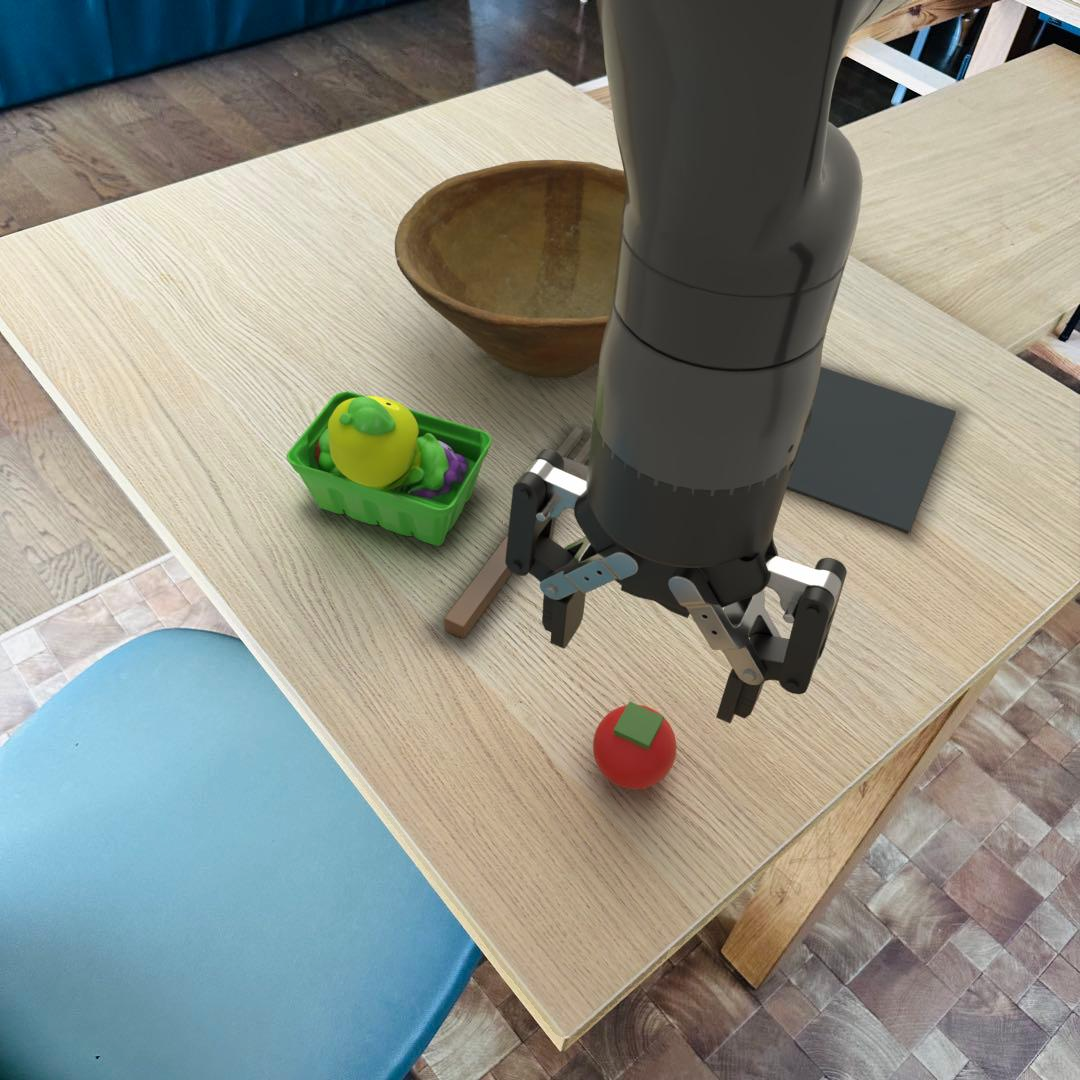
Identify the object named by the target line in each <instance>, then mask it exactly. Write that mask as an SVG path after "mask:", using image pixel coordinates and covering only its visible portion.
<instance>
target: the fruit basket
mask: <svg viewBox="0 0 1080 1080" xmlns="http://www.w3.org/2000/svg"><path fill="white" fill-rule="evenodd" d="M492 442H493V439H492V436H491V435H490V433H489V432H487V431H484V430H483V429H479V428H475V427H472V426H469V425H465V424H461V423H458V422H455V421H452V420H447V419H444V418H441V417H438V416H434V415H431V414H427V413H424V412H421V411H416V410H414V409H411V408H407V407H406V406H405V405H404V404H402V403H400V402H399V401H396V400H394V399H391V398H387V397H382V396H377V395H376V396H374V395H367V396H366V395H364V394H360V393H356V392H353V391H341V392H338V393H336V394H334V395H333V396H331V398H330V399H329V400H328V402H327V403H326V405H325V406H324V407H323V408H322V410H321V411H320V412H319V413H318V414H317V415H316V417H315V419H314V420H313V421H312V422H311V423H310V424H309V426H308V427H307V428H306V430H304V431H303V433H302V434H301V435H300V436H299V438H298V439H297V440H296V441H295V442H294V444H293V445H292V446H291V448H289V450H288V451H287V453H286V457H285V458H286V460H287V462H288V463H289V465H290V466H291V467H292V469H293V470H294V471H295V472H296V473H297V474H298V475H299V477H300V479H301V480H302V481H303V483H304V485H305V486H306V488H307V490H308V491H309V493H310V495H311V496H312V499H314V501H315V503H316V505H317V506H318V508H320V509H322V510H324V511H326V512H327V511H328V512H331V513H334V514H338V515H345V514H346V516H347V517H349V518H350V519H353V520H355V521H359V522H361V523H365V524H368V525H374V526H378V525H379V526H380V527H382V529H384V530H387V531H390V532H393V533H396V534H398V535H401V536H407V537H408V536H409V537H414V538H416V539H418V541H421V542H424V543H427V544H429V545H433V546H437V547H440V546H442V545H443V543H444V542H445V540H446V537H447V533H448V532H450V531H451V530H452V529H453V527H454V525H455V524H456V522H457V520H458V519H459V517H460V516H461V514H462V512H463V510H464V507H465V504H466V503H467V502H469V501H470V499H471V497H472V494H473V493H474V492H473V491H474V488H475V486H476V482H477V479H478V477H479V473H480V472H481V468H482V465H483V462H484V460H485V458H486V457H487V455H488V453H489V450H490V448H491V445H492Z"/></svg>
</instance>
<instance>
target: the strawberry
mask: <svg viewBox="0 0 1080 1080" xmlns="http://www.w3.org/2000/svg"><path fill="white" fill-rule="evenodd" d="M593 735H594V736H593V740H592V752H593V757H594V760H595V763H596V765H597V768H598V769H599V770H600V772H601V773H602V774H603V776H604V777H605V778H606V779H607V780H608V781H610V782H611V783H613V784H614V785H616V786H618V787H620V788H624V789H628V790H639V791H644V789H648V788H650V787H652V786H655V785H657V784H658V783H660V782H661V781H662V780H663V779H665V778H666V776H667V775H668V774H669V772H670V771H671V769H672V768H673V765H674V763H675V761H676V757H677V749H678V748H677V739H676V736H675V732H674V730H673V728H672V726H671V724H670V722H668V720H667V719H666V718H665V716H663V715H662V714H661V713H660V712H659V711H657V710H655V709H653V708H651V707H650V706H646V705H643V704H637V703H634V702H632V701H628V703H627V704H626V705H622V706H621V705H620V706H619V707H616V708H615V709H613V710H611V711H610V712H608V713H607V714H606V715H605V716H604V717H603V718H602V719H601V720H600V722H599V723H598V725H597V728H596V729H595V732H594V734H593Z"/></svg>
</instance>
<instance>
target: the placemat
mask: <svg viewBox="0 0 1080 1080" xmlns="http://www.w3.org/2000/svg"><path fill="white" fill-rule="evenodd" d="M956 413H957V411H956V410H954V409H951V408H948V407H946V406H942V405H939V404H935V403H933V402H931V401H930V402H929V401H926V400H923V399H920V398H918V397H914V396H911V395H908V394H905V393H902V392H900V391H896V390H893V389H890V388H887V387H884V386H881V385H877V384H875V383H871V382H868V381H866V380H862V379H860V378H857V377H853V376H850V375H848V374H844V373H841V372H839V371H836V370H832V369H829V368H826V367H823V366H821V367H820V373H819V380H818V385H817V389H816V393H815V397H814V400H813V412H812V417H811V421H810V425H809V427H808V430H806V432H805V433H804V434H803V436H802V439H801V442H800V446H799V449H798V452H797V456H796V459H795V462H794V465H793V469H792V472H791V475H790V479H789V482H788V485H787V488H786V489H788V490H791V491H794V492H796V493H799V494H801V495H804V496H807V497H810V498H812V499H815V500H818V501H821V502H823V503H826V504H829V505H832V506H834V507H837V508H840V509H843V510H846V511H847V512H850V513H853V514H856V515H858V516H861V517H864V518H867V519H870V520H872V521H875V522H877V523H881V524H883V525H886V526H888V527H891V528H894V529H897V530H899V531H902V532H905V533H908V534H909V533H910V531H911V528H912V526H913V523H914V520H915V518H916V516H917V513H918V510H919V507H920V505H921V502H922V500H923V498H924V495H925V492H926V489H927V487H928V484H929V483H930V479H931V477H932V475H933V472H934V469H935V468H936V467H935V466H936V464H937V462H938V459H939V457H940V454H941V451H942V448H943V446H944V444H945V442H946V438H947V437H948V436H947V435H948V433H949V432H950V431H949V430H950V428H951V425H952V423H953V421H954V419H955V415H956Z"/></svg>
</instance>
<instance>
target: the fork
mask: <svg viewBox="0 0 1080 1080" xmlns="http://www.w3.org/2000/svg"><path fill="white" fill-rule="evenodd" d="M582 438H583V428H580V427H577V426H575V427H574V428H573V429H572V431H571V432H570V433H569V434H568V436H567V437H566V438H565V439H564V441H563V443H562V444H560V446H559V447H558V449H557V450H555V451H556V452H558V453H559V454H560V455H561V456H562V458H563V460H564V470H563V471H564V472H567V473H569V474H571V475H573V476H576V477H578V478H580V479H582V480H585V481H587V473H588V465H587V464H586V463H587V462H588V461H589V454H590V444H591V436H590V437H589V438H588V439H587V440H586V442H585V443H584V444H583V446H582V448H581V449H580V450H579V451H578V453H577V454H576V456H575V457H574V458H573V459H570V458H568V457H569V455H570V454H571V452H573V450H574V448H575V447H576V446H577V445H578V443H579V441H581V439H582ZM585 464H586V465H585ZM507 539H508V533H507V534H506V536H504V538H503V540H502V541H501V542H500V544H499V545H498V546H497V548H496V549H495V550H494V551H493V553H492V554H491V556H489V558H488V559H487V561H486V562H485V563H484V564H483V566H482V567H481V569H480V570H479V571H478V572H477V574H476V575H475V577H474V578H473V579H472V581H471V582H470V583H469V585H468V586H467V588H465V590H464V591H463V592H462V594H461V595H460V596H459V597H458V599H457V600H456V602H455V603H454V605H453V606H452V607H451V609H449V610H448V612H447V614H446V615H445V616H444V618H443V628H444V631H446V632H447V633H449V634H451V635H454V636H456V637H458V638H461V639H463V640H464V639H465V638H466V637H467V636H468V634H469V633H470V632H471V630H472V629H473V627H474V626H475V625H476V624H477V622H478V620H479V619H480V618H481V616H482V615H483V613H485V611H486V610H487V608H488V607H489V605H490V604H491V603H492V602H493V600H494V599H495V597H496V596H497V594H498V593H499V591H500V590H501V589H502V588H503V586H504V584H506V582H507V581H508V579H509V578H510V577H511V575H512V574H513V572H512V571H511V570H510V569H509V568H508V567H507V565H506V563H505V558H506V549H507Z"/></svg>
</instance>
